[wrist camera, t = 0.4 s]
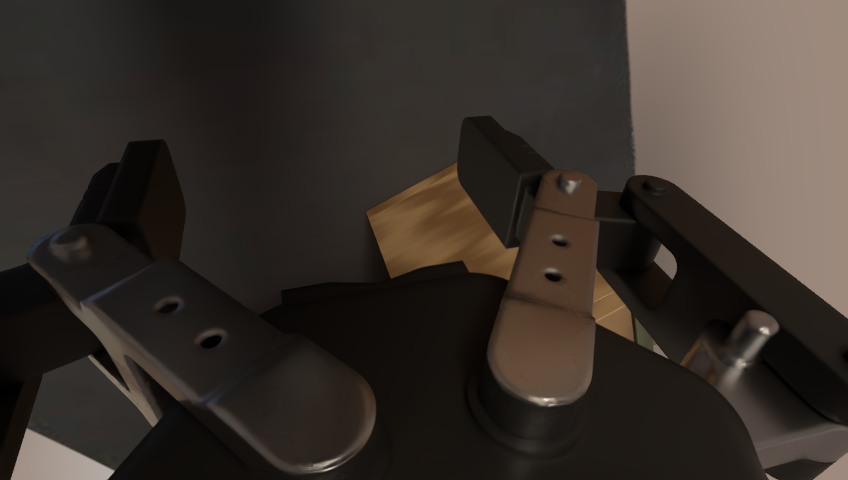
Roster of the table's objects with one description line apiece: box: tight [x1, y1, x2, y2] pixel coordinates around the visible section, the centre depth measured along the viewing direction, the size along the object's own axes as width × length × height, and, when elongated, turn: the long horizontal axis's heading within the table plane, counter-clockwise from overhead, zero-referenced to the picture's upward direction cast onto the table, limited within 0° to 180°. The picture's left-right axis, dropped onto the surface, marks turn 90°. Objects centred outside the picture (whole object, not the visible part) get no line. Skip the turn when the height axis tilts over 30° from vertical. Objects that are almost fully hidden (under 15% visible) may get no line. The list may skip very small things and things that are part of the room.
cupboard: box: [366, 162, 634, 342], centre depth 35 cm, size 11×16×18 cm
